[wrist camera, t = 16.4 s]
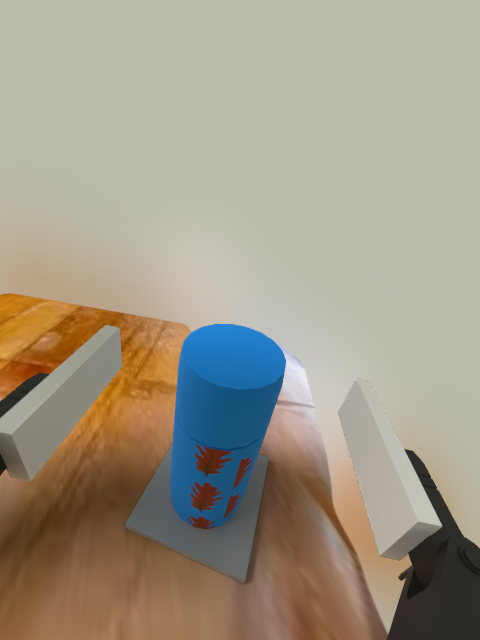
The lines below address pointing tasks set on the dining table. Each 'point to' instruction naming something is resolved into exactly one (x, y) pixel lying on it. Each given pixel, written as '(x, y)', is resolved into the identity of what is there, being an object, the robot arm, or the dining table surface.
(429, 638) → the robot arm
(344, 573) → the dining table surface
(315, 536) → the dining table surface
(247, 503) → the slate tile
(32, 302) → the dining table surface
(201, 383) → the thermos
